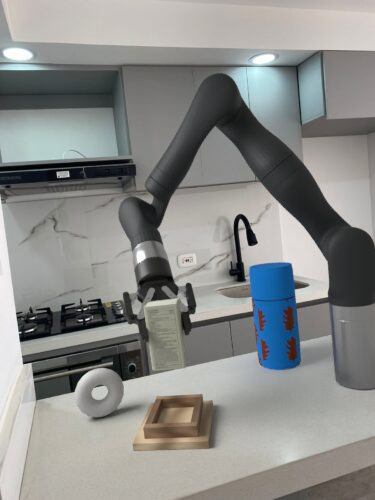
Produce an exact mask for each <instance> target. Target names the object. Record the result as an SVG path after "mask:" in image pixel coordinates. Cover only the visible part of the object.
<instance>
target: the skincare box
mask: <svg viewBox="0 0 375 500" xmlns="http://www.w3.org/2000/svg"><path fill="white" fill-rule="evenodd" d="M179 299H180V297H178V298H176V299H167V300H159V301H151V302H148V303H146V305H145V306H144V313H145V321H146V327H147V332H148V347H149V356H150V361H151V368H152V371H168V370H178V369H185V368H186V366H187V361H188V359H187V357H188V355H187V351H186V350H187V349H186V348H187V347H186V341H185V333H184V329H183V325H182V317H181V310H180V303H179Z"/></svg>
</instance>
